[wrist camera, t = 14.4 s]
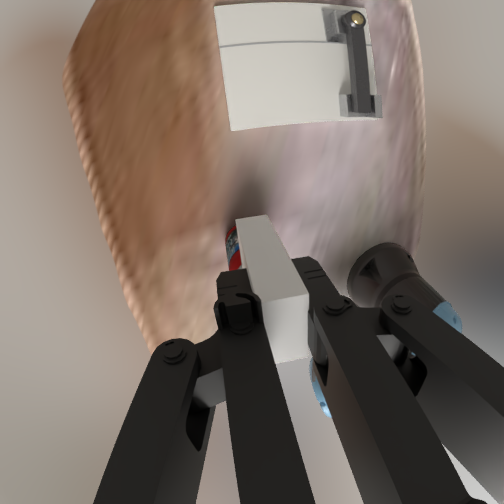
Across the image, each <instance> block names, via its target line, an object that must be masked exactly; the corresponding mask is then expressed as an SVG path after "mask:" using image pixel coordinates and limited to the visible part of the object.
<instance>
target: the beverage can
mask: <svg viewBox="0 0 504 504" xmlns="http://www.w3.org/2000/svg"><path fill="white" fill-rule="evenodd" d="M225 244H226V252H227V259H228V266H229V271H232V270H237V269H243V268H242V262H241V255H240V248H239V241H238V234H237V228H236V226H234V227H233V228H232V229H231V230H230V231H229V232H228V234H227V236H226V241H225Z"/></svg>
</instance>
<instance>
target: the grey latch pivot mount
mask: <svg viewBox="0 0 504 504" xmlns="http://www.w3.org/2000/svg"><path fill="white" fill-rule="evenodd" d="M321 11H322V17H323V23H324V30H325V36H326V42H334V43H347V41H346V33H345V27H344V26H343V24H342V21H341V18H342V16H343V15H344V14H346V13H348V12H350V11H348V10H338V9H326V8H322V9H321Z"/></svg>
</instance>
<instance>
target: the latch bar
mask: <svg viewBox="0 0 504 504" xmlns="http://www.w3.org/2000/svg"><path fill="white" fill-rule="evenodd" d="M341 21H342V24H343V26H344V27H345V33H346V41H347V50H348V60H349V71H350V83H351V98H352V112H354V113H371V99H370V83H369V70H368V59H367V49H366V41H365V33H364V26H365V24H366V19H365V17H364V15H363V14H362V13H361V12H359V11H356V10H352V11H350V12H348V13H346V14H344V15H343V16H342V18H341Z"/></svg>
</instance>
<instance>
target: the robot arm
mask: <svg viewBox="0 0 504 504" xmlns="http://www.w3.org/2000/svg"><path fill="white" fill-rule="evenodd" d="M235 221H236V228H237V234H238V241H239V248H240V255H241V262H242V268H243V269H237V270H232V271H226V272H221V273H220V275H219V277H218V278H217V280H216V282H217V294H218V300H217V301H216V302H215V304H214V308H213V309H214V313H215V317H216V321H217V325H218V330H217V331H216V333H215V334H214V335H213V336H211V337H210V338H209V339H207V340H205V341H202V342H200V343H197V344H195V345H194V343H192V342H191V341H189V340H187V339H182V338H178V339H171V340H168V341H165V342H163V343H162V344H161V345H159V346H158V347H157V348H156V349H155V351H154V352H153V354H152V356H151V359H150V361H149V363H148V365H147V368H146V370H145V372H144V375H143V377H142V379H141V382H140V384H139V386H138V389H137V391H136V393H135V396H134V398H133V401H132V403H131V406H130V408H129V410H128V413H127V416H126V418H125V420H124V423H123V425H122V428H121V430H120V433H119V435H118V438H117V440H116V443H115V446H114V448H113V451H112V453H111V456H110V459H109V461H108V464H107V467H106V469H105V472H104V475H103V477H102V480H101V483H100V486H99V489H98V491H97V494H96V497H95V500H94V503H93V504H196V499H197V494H198V490H199V485H200V480H201V474H202V470H203V465H204V461H205V455H206V451H207V446H208V441H209V436H210V431H211V427H212V422H213V417H214V412H215V408H216V405H217V404H219V403H221V402H224V401H226V403H227V411H228V420H229V428H230V435H231V442H232V450H233V457H234V464H235V471H236V478H237V484H238V491H239V497H240V504H315V500H314V497H313V493H312V490H311V487H310V484H309V480H308V477H307V473H306V470H305V466H304V463H303V459H302V456H301V452H300V449H299V445H298V442H297V438H296V435H295V432H294V428H293V424H292V421H291V417H290V414H289V410H288V407H287V404H286V400H285V396H284V393H283V389H282V386H281V382H280V379H279V375H278V372H277V368H276V364H278V363H283V362H287V361H292V360H296V359H301V358H306V357H308V356H309V348H310V351H311V353H312V356H313V357H312V358H311V361H310V365H309V371H310V378H311V382H312V386H313V389H314V392H315V395H316V398H317V400H318V401H319V402H320V406H321V408H322V410H323V411H324V413H325V414H326V416H328V417H331V418H332V419H333V422H334V424H335V427H336V430H337V432H338V435H339V438H340V440H341V443H342V446H343V448H344V451H345V454H346V456H347V459H348V462H349V465H350V467H351V470H352V473H353V475H354V478H355V481H356V484H357V486H358V489H359V492H360V494H361V497H362V500H363V502H364V504H487V503H486V502H484V501H482V500H478V499H474V498H472V497H471V496H470V495H469V494H468V492H467V491H466V489H465V487H464V485H463V483H462V481H461V479H460V477H459V475H458V473H457V471H456V469H455V468H454V465H453V464H452V462H451V460H450V458H449V456H448V454H447V453H446V451H445V449H444V447H443V445H444V446H445V447H446V448H447V449H448V450H449V451H450V452H451V453H452V454H453V455H454V457H455V458H456V459H457V460H458V461H460V463H461V464H462V465H463V466H464V467H465V468H466V469H467V470H468V471H469V472H470V473H471V475H472V476H473V477H474V478H475V479H476V480H477V481H478V482H479V483H480V484H481V485H482V486H483V487H484V488H485V489H486V491H487V492H488V493H489V494H490V495H491V496H492V497H493V498H494V499H495V500H496V501H497V502H498V503H499V504H504V367H502V366H501V365H500V364H499V363H498V362H496V361H495V360H494V359H493V358H491V357H490V356H489V355H488V354H486V353H485V352H484V351H483V350H482V349H480V348H479V347H478V346H477V345H475V344H474V343H473V342H472V341H470V340H469V339H468V338H466V337H465V336H464V335H463V334H461V333H462V321H461V319H460V317H459V315H458V314H457V313H456V312H455V310H454V309H453V308H452V306H451V304H450V303H449V302H447V301H446V300H445V299H444V298H443V297H442V296H441V295H440V294H439V293H438V292H437V291H436V290H435V289H434V288H433V287H432V286H431V285H429V284H428V283H427V282H426V281H425V280H424V279H423V278H422V277H421V276H420V274H419V272H418V270H417V268H416V265H415V263H414V261H413V259H412V257H411V255H410V254H409V253H408V252H407V251H406V250H405V249H404V248H402V247H401V246H399V245H397V244H394V243H384V244H380V245H377V246H375V247H373V248H371V249H369V250H368V251H366V252H365V253H364V254H363V255H362V256H361V257H360V258H359V259H358V260H357V261H356V263H355V264H354V266H353V268H352V269H351V272H350V274H349V277H348V283H347V288H348V293H349V296H350V297H351V299H352V300H353V301H352V300H351V299H350V298H348V297H345V296H342V295H340V294H339V293H338V291H337V290H336V288H335V287H334V285H333V284H332V282H331V281H330V279H329V278H328V276H327V275H326V273H325V272H324V270H323V269H322V267H321V266H320V264H319V263H318V261H316V260H314V259H313V258H311V257H309V256H307V257H302V258H296V259H290V257H289V255H288V253H287V251H286V249H285V247H284V245H283V244H282V242H281V240H280V238H279V236H278V234H277V232H276V231H275V229H274V227H273V225H272V223H271V221H270V220H269V218H268V216H267V214H266V215H260V216H253V217H247V218H241V219H235ZM442 444H443V445H442Z"/></svg>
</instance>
